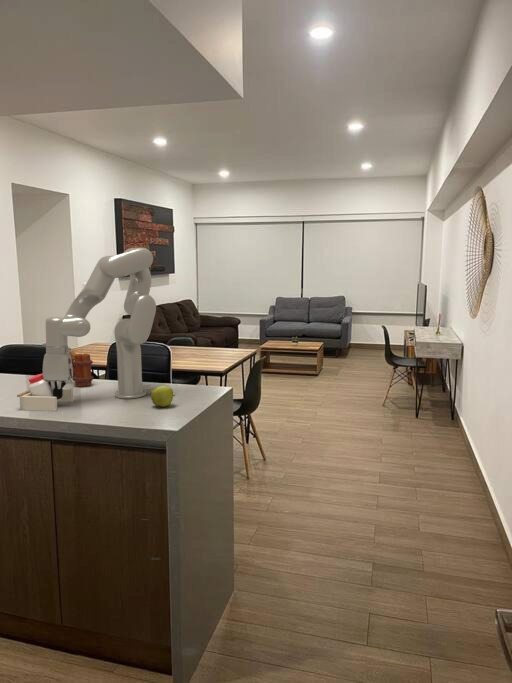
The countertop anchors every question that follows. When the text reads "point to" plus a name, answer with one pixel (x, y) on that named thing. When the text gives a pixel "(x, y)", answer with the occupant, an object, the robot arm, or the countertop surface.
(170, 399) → the apple
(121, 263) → the robot arm
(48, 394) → the pill bottle
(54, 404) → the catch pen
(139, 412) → the countertop surface
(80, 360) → the mug
